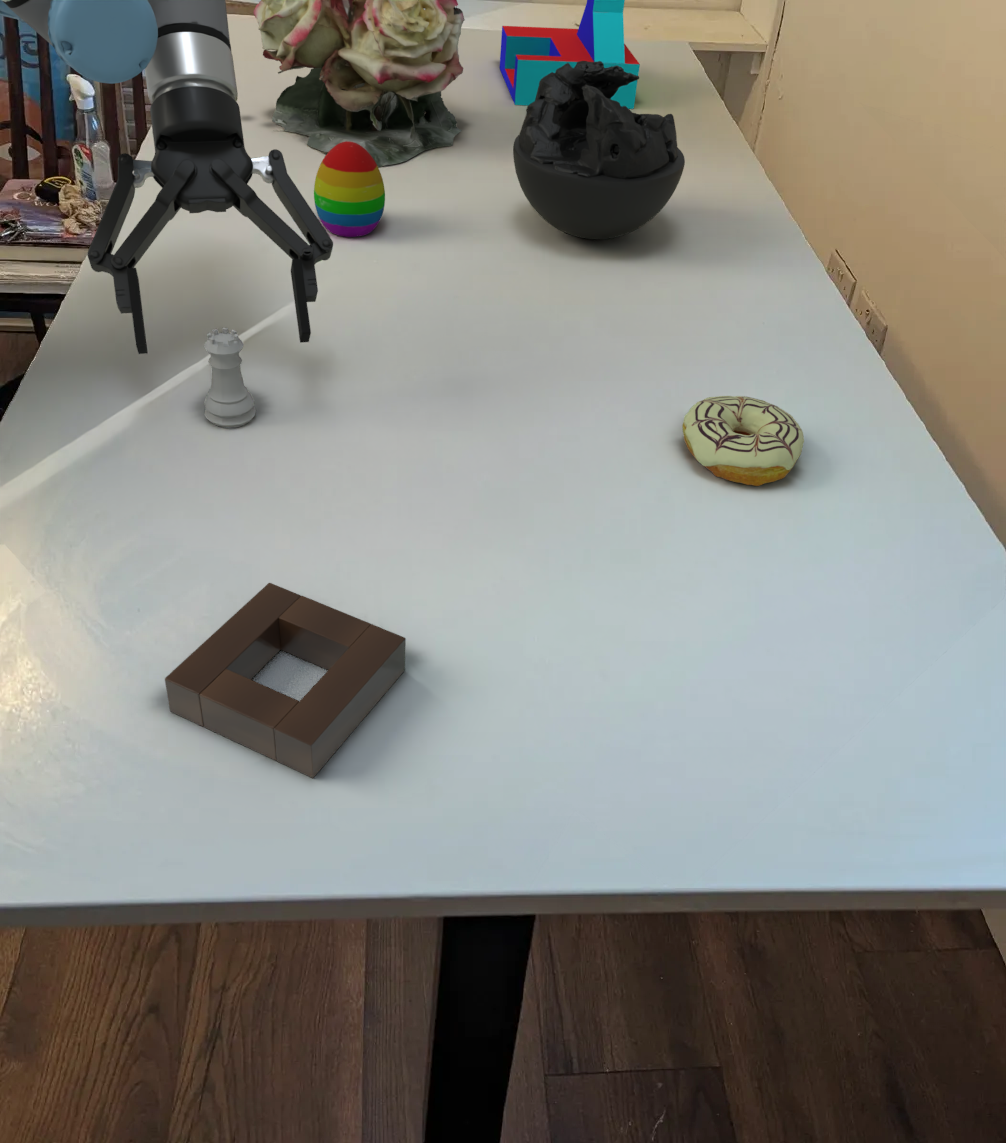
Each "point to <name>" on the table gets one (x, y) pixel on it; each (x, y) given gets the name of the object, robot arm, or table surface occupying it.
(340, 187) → the decorative egg
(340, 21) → the rose bouquet
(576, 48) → the building blocks toy
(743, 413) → the decorated donut
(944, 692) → the table surface
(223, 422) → the rook chess piece
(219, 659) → the brown square frame
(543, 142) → the coal bowl
